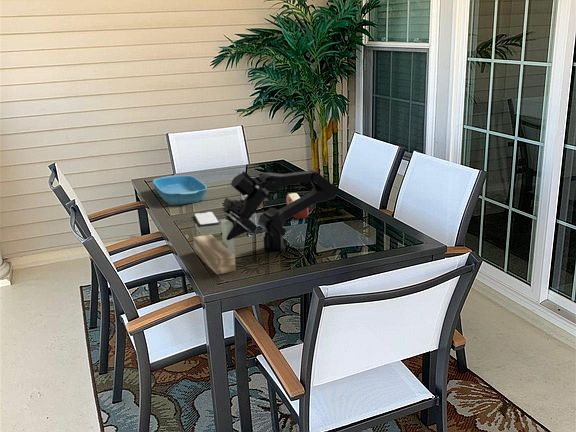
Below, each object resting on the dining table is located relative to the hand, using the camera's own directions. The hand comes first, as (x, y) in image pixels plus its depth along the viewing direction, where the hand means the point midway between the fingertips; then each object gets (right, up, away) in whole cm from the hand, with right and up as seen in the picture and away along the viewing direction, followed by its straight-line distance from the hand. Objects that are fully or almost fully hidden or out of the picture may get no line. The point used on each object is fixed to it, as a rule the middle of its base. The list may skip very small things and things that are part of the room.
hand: (224, 237), depth 204 cm
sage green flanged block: (-1, -7, +1) cm, 7 cm away
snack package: (+26, +9, +54) cm, 61 cm away
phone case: (-13, +5, +45) cm, 47 cm away
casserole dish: (-31, +17, +82) cm, 89 cm away
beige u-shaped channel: (-4, -8, +1) cm, 9 cm away
